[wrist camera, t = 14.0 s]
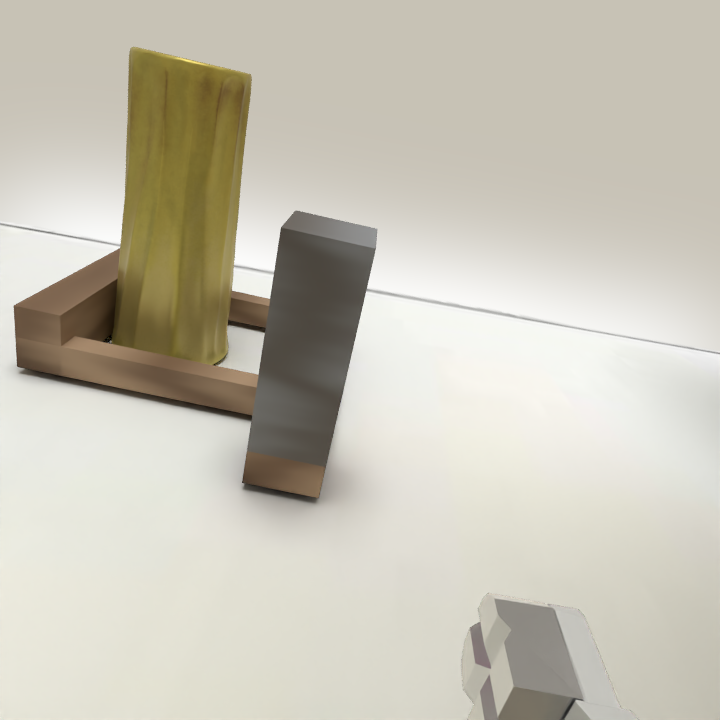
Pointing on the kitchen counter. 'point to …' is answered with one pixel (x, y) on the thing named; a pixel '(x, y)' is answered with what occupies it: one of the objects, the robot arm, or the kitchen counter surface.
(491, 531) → the kitchen counter surface
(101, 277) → the frame
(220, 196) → the vase
